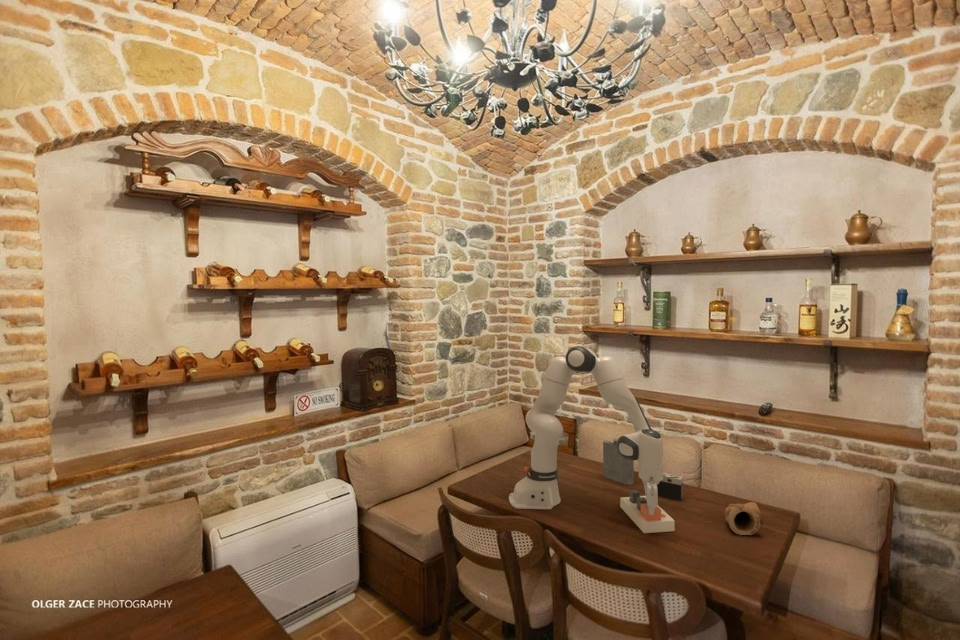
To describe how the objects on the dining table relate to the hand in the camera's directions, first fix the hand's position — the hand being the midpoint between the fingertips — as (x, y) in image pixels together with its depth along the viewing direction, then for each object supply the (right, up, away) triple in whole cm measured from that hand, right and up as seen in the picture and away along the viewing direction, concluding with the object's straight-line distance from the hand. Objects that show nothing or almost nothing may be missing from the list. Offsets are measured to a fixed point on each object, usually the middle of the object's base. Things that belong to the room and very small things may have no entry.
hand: (650, 508), depth 180 cm
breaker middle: (-1, -4, +7) cm, 8 cm away
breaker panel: (+1, -7, +8) cm, 10 cm away
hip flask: (+1, -5, +46) cm, 46 cm away
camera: (+18, -6, +29) cm, 35 cm away
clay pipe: (+36, -7, -1) cm, 36 cm away
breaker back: (-1, -3, +14) cm, 15 cm away
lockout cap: (0, -3, 0) cm, 3 cm away
